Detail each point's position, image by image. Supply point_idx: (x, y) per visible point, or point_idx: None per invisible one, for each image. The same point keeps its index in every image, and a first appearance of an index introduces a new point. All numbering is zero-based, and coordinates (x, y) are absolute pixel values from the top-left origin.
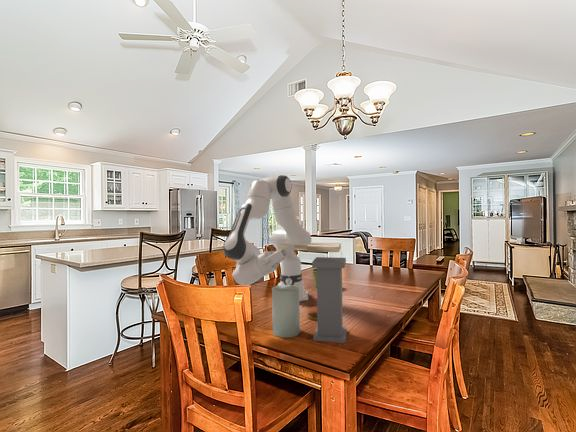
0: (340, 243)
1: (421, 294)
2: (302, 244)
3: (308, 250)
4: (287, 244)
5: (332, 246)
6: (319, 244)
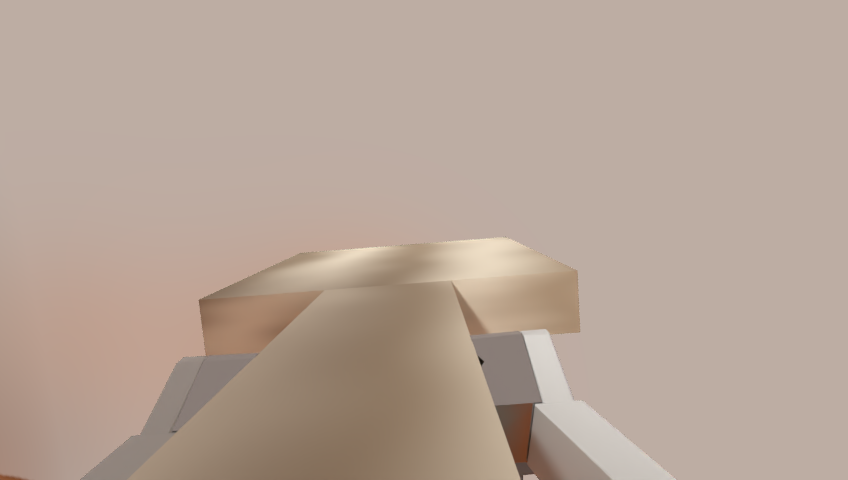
0: (322, 251)
1: (3, 476)
2: (397, 304)
3: (573, 315)
4: (417, 416)
5: (507, 241)
6: (388, 266)
